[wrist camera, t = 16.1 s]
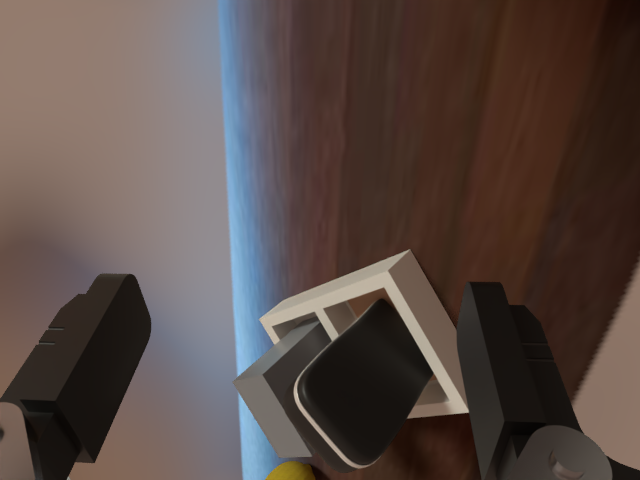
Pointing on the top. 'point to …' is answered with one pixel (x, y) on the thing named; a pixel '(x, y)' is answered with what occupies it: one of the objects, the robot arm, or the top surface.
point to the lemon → (292, 472)
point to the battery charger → (359, 390)
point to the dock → (329, 322)
